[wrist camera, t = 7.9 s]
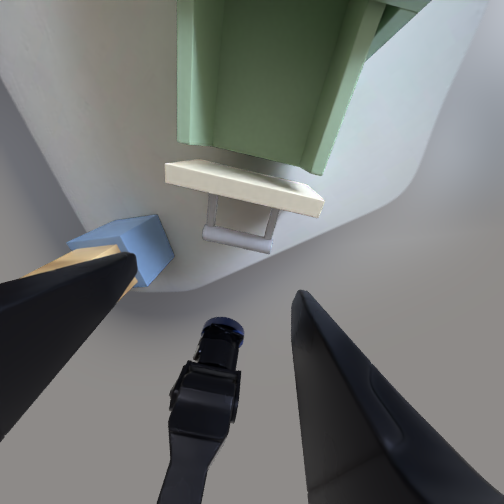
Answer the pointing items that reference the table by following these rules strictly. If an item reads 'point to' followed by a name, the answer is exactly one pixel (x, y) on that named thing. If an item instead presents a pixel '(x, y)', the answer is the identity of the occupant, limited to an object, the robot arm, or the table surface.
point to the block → (82, 260)
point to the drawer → (265, 96)
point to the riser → (133, 244)
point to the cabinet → (394, 20)
